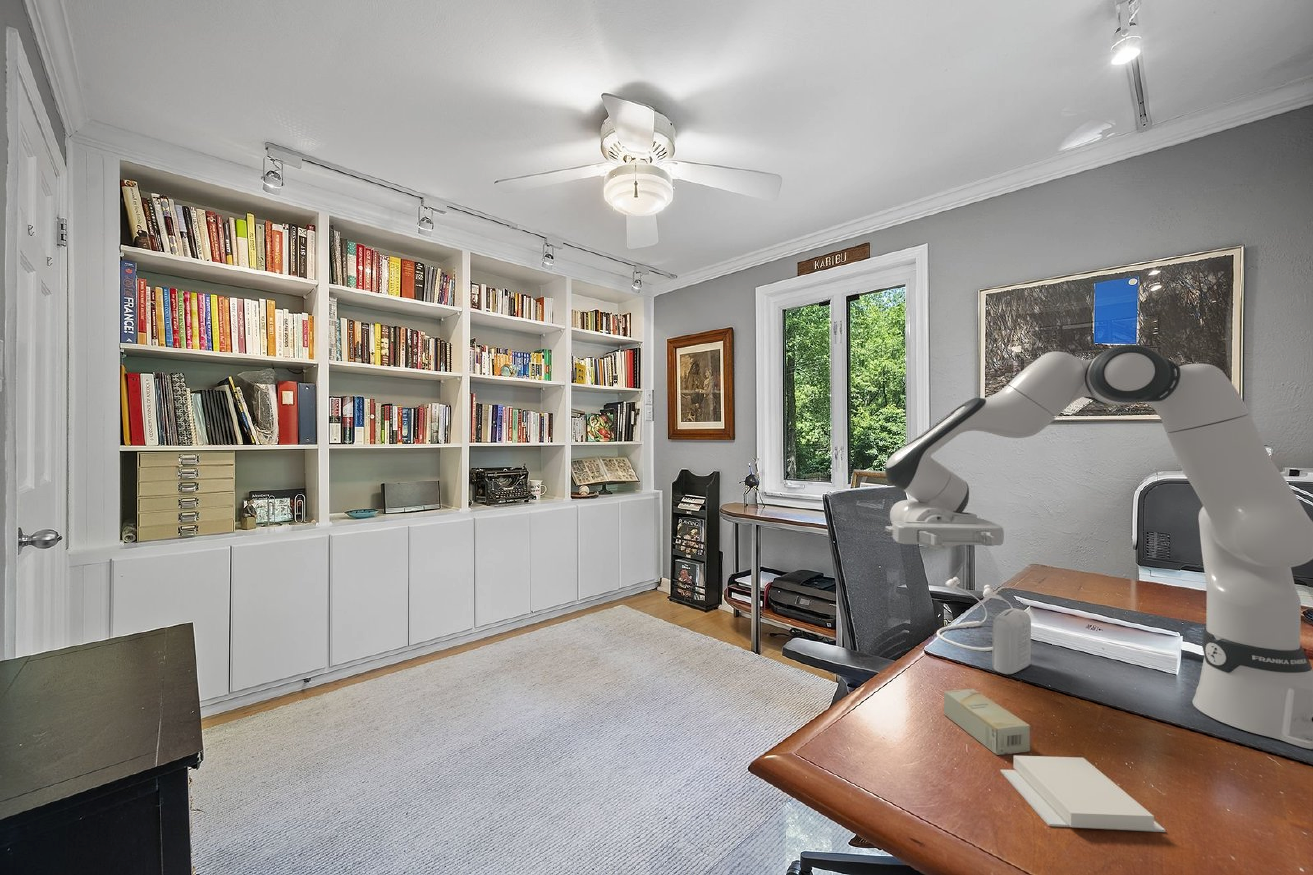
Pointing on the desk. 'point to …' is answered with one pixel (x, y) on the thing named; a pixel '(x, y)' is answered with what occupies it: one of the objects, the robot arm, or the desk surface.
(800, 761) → the desk surface
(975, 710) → the skincare box
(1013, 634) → the grey rounded block
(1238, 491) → the robot arm
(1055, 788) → the tile
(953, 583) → the earphone
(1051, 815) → the mat
